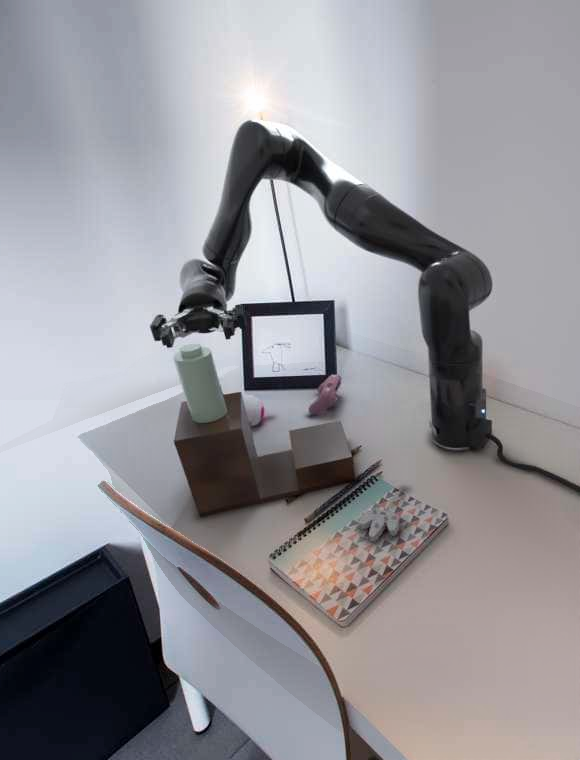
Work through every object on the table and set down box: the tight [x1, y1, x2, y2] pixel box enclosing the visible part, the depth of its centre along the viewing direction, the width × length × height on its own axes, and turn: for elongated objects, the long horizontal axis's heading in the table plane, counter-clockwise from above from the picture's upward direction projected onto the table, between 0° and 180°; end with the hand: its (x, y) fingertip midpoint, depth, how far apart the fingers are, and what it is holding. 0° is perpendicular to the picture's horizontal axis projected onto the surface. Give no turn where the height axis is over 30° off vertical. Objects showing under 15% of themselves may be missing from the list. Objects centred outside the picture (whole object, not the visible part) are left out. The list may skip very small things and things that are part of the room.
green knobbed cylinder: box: [172, 343, 227, 423], centre depth 77 cm, size 5×5×11 cm
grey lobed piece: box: [359, 487, 405, 543], centre depth 79 cm, size 6×12×3 cm, turn 0°
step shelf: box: [173, 391, 357, 518], centre depth 85 cm, size 24×12×14 cm, turn 109°
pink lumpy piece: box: [308, 373, 343, 415], centre depth 109 cm, size 10×5×7 cm, turn 179°
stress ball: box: [242, 394, 270, 427], centre depth 104 cm, size 8×8×7 cm
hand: (197, 337), depth 82 cm, fingers open, 8 cm apart
